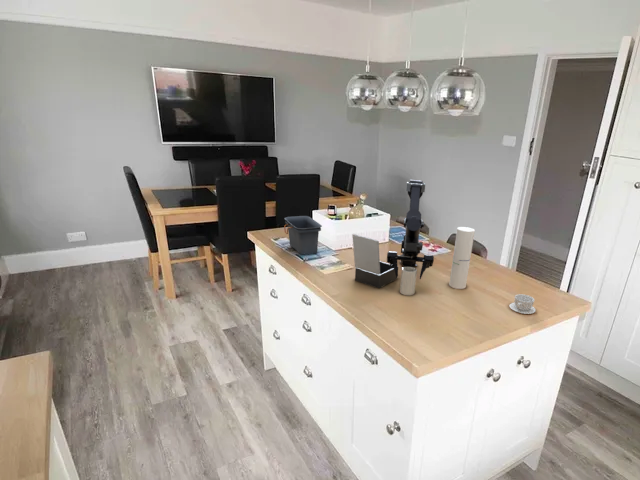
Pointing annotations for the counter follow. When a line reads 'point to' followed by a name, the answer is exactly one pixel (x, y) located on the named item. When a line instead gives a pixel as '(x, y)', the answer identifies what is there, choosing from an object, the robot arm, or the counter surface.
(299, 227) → the storage bin
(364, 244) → the grey flat rectangular panel
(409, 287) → the white cup
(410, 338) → the counter surface
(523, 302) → the teacup
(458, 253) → the cylindrical container
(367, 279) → the dark grey open box
